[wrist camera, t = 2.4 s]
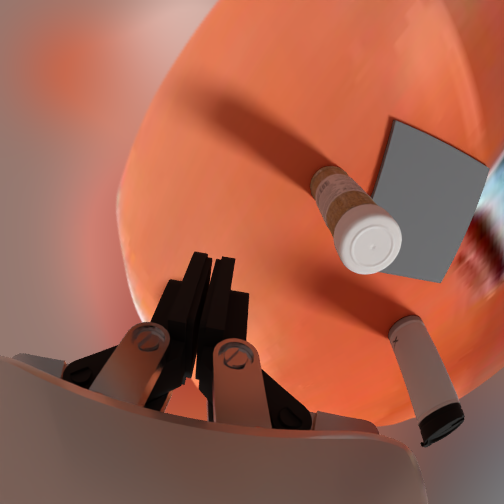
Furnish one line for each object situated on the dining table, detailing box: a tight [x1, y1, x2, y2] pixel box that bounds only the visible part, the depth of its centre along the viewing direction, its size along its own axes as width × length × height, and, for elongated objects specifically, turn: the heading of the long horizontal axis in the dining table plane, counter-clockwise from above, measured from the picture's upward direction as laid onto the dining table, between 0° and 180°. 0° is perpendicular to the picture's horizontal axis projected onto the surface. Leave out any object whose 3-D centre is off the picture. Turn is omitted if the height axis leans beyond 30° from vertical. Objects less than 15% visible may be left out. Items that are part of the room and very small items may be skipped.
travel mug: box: [388, 316, 464, 447], centre depth 30 cm, size 6×7×20 cm
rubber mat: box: [371, 120, 489, 283], centre depth 29 cm, size 18×16×1 cm
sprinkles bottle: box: [310, 166, 402, 274], centre depth 22 cm, size 5×5×13 cm
